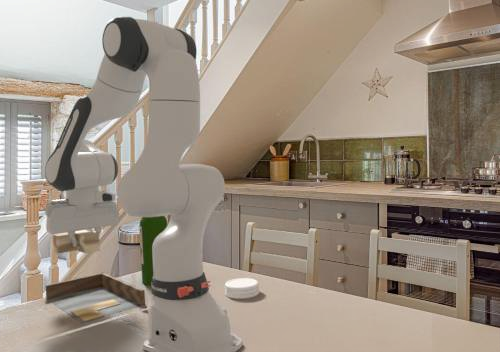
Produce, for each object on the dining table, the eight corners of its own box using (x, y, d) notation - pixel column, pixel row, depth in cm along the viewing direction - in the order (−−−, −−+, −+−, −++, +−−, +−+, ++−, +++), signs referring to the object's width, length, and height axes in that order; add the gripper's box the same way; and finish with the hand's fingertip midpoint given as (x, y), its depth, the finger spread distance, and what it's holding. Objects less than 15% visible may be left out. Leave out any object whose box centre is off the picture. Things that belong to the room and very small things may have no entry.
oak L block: (99, 251, 122) (98, 233, 122) (67, 257, 116) (66, 238, 116) (84, 246, 130) (83, 229, 130) (54, 251, 124) (52, 234, 124)
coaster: (262, 289, 129) (262, 278, 129) (254, 300, 120) (254, 288, 119) (230, 288, 132) (230, 276, 131) (220, 299, 122) (220, 286, 122)
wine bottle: (141, 280, 142) (136, 183, 140) (168, 277, 145) (164, 181, 143) (143, 288, 134) (137, 185, 132) (172, 285, 136) (167, 183, 135)
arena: (145, 306, 118) (144, 290, 117) (81, 325, 106) (80, 307, 106) (103, 286, 138) (103, 272, 137) (46, 300, 126) (45, 285, 126)
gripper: (48, 201, 114) (51, 252, 115) (120, 194, 128) (123, 240, 129) (41, 200, 119) (44, 249, 120) (111, 193, 133) (114, 237, 133)
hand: (85, 244), depth 124 cm, fingers closed on oak L block, 4 cm apart
